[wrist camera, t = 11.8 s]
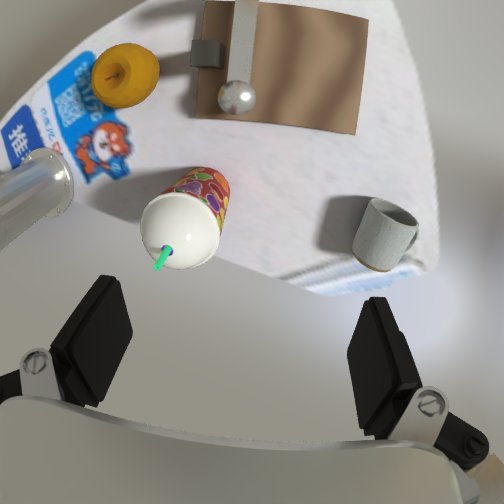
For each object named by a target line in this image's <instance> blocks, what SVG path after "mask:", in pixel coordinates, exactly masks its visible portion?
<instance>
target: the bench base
mask: <svg viewBox="0 0 504 504" xmlns="http://www.w3.org/2000/svg"><path fill="white" fill-rule="evenodd" d="M234 9H235V1H209V2H205V9H204V18H203V28H202V39H201V40H192V47H191V59H190V66H194V67H198V68H199V76H198V91H197V109H196V118H215V119H232V120H246V121H258V122H268V123H277V124H286V125H294V126H301V127H308V128H315V129H322V130H328V131H334V132H339V133H345V134H350V135H355V133H356V127H357V120H358V113H359V106H360V99H361V92H362V84H363V75H364V67H365V57H366V47H367V36H368V23H369V20H368V19H365V18H361V17H356V16H352V15H348V14H343V13H338V12H333V11H328V10H322V9H317V8H310V7H303V6H296V5H287V4H277V3H264V2H259V6H258V15H257V24H256V34H255V43H254V52H253V62H252V72H251V82H250V85H251V86H252V87H253V88H254V90H255V92H256V102H255V105H254V106H253V108H252V109H251V110H249V111H248V112H246V113H245V114H242V115H231V114H228V113H226V112H225V111H223V110H222V108H221V107H220V105H219V103H218V93H219V90H220V89H221V87H222V86H223V85H224V84H225V83H227V77H228V66H229V56H230V46H231V36H232V27H233V18H234Z"/></svg>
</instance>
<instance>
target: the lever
mask: <svg viewBox="0 0 504 504" xmlns="http://www.w3.org/2000/svg"><path fill="white" fill-rule="evenodd" d="M258 6H259V0H236V1H235V9H234V18H233V27H232V36H231V46H230V56H229V66H228V77H227V83H225V84H224V85H223V86H222V87H221V89H220V90H219V93H218V103H219V105H220V107H221V108H222V110H223V111H225V112H226V113H228V114H231V115H242V114H245V113H246V112H248V111H249V110H251V109H252V108H253V106H254V105H255V102H256V92H255V90H254V88H253V87H252V86H251V85H250V82H251V72H252V62H253V52H254V43H255V34H256V24H257V15H258Z"/></svg>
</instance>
